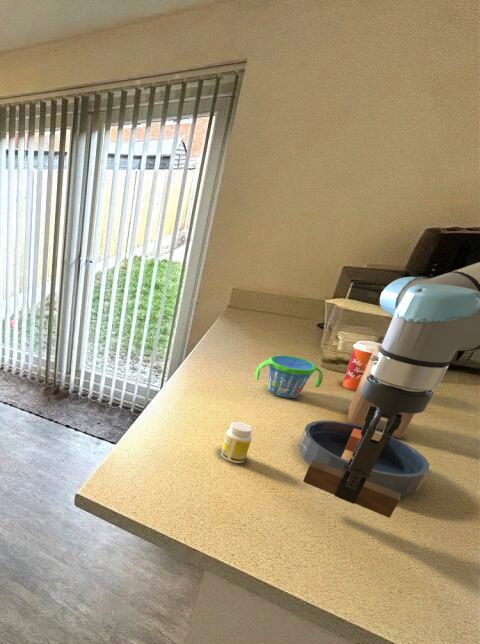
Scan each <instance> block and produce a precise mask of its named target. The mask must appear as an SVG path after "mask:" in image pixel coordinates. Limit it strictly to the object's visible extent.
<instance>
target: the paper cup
mask: <svg viewBox="0 0 480 644" xmlns="http://www.w3.org/2000/svg"><path fill="white" fill-rule="evenodd" d="M377 345H382V343H380V342H376V341H368V340H358V341H357V342H355V344H353V345H352V347H353V349H352V353H351V356H350V359H349V361H348V365H347V368H346V373H345V374H344V378H343V382H342V386H343V387H344V388H346V389H349V390H351V391H355V392H356V390H357V388H358V385H359V383H360V381H361V378H362V376H363V374H364V371H365V369H366V367H367V364H368V362H369V360H370V357H371V355H372V353H373V350H374V348H375V347H376V346H377Z"/></svg>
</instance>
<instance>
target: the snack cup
mask: <svg viewBox="0 0 480 644" xmlns="http://www.w3.org/2000/svg"><path fill="white" fill-rule="evenodd" d="M266 366H268V368H269V370H268V378H267V379H268V380H267V391H269V393H271V394H273V395H275V396H277V397H280V398H281V397H282V398H286V399H295V398H297V397H298V396H299V395H300V394H301V393H302V391H303V389H304V387H305V386H306V385H307V382H308V381H309V379H310V377H311V376H312V375H313V373H315V371H317V372H318V373H317V376H316V380H315V381H314V382H313V383H314V384H313V386H314V387H315V388H319V387H320V386H321V385H322V382H323V378H324V375H323V372H322V370H321V368H319V367H318V366H316V365H315V364H314V363H313V362H311V361H309V360H308V359H305V358H301V357H297V356H294V355H293V356H292V355H285V354H281V355H280V354H277V355H272V356H270V358H269V359H267V360H264V361H263V362H261V363H260V364H259V365H258V366H257V368H256V369H255V371H254V372H255V373H254V376H255V380H256V381H259V380H260V371H261V369H263V368H264V367H266Z"/></svg>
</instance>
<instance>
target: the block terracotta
mask: <svg viewBox="0 0 480 644" xmlns="http://www.w3.org/2000/svg"><path fill="white" fill-rule="evenodd" d="M361 431H362V430H359V429H355V428H354V429H353V431H352V433H351V436H350V438H349V440H348V442H347V445H346V447H345V450H349V451H351V452H355V446H357V445H358V442H359V440H360V438H361V436H362V435H361ZM345 450H344V451H345Z"/></svg>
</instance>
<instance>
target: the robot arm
mask: <svg viewBox="0 0 480 644" xmlns="http://www.w3.org/2000/svg"><path fill="white" fill-rule="evenodd" d="M379 306H380V308H381V309H382V311H383V312H385V313H387V314H388V315H390V316H392V319H391V321H390V323H389V326H388V329H387V331H386V333H385V336H384V338H383V340H382V343H381V344H382V345H381V347H380V351H379V353H378V356H374V355H372V356H371V357H370V360H371V361H374V362H375V363H374V364H373V366H372V368H371V371H370V373H371V374H372V375H370V376H368V377H367V378H366V381H365V383H364V385H363V387H362V390H361V392H360V394H361V396H362V398H363V399H365V400H366V401H368V402H369V403H372V404H374V406H375V407H374V406H371V405H370V407H369V409H368V411H367V415H366V417H365V422H364V425H363V428H362V431H361V435H362V436H361V438H360V440H359V442H358V445H357V446H355V452H354V453H353V454H352V455H353V459H352V458H351V459H350V461H349V463H348V464H345V463H344V465H343V468H345V469H346V470H345V474H344V476H343V478H342V480H341V482H340V484H339V486H338V489H337V491H336V493H335V495H333V496H334V497H336V498H338V499H340V500H343V501H345V502H348V503H351V504H353V505H355V501H356V499H357V497H358V495H359V493H360V491H361V489H362V487H363V485H364V483H365V481H366V479H367V478H368V477H370V473H371V471H372V469H373V467H374V465H377V463H378V461H377V459H378V457H379V455H380V453H381V451H382V449H383V447H384V446H385V444H386V443H388V442H389V441H390V439H391V437H392V435H393V432H394V431H395V430H397V429H398V427H399V425H400V423H401V421H402V420H401V418H402V415H403V414H399V413H408V414H414V415H416V414H420V413H423V412H424V411H425V410H426V408H427V407H428V405H429V403H430V401H431V399H432V397H433V396H434V392H433V390H436V389H437V388H438V387H439V385H440V384H441V381H442V379H443V378H444V376H445V374H446V371H447V370H448V368H449V366H450V364H451V362H452V359H453V358H454V356H455V355H456V352H457V351H459V352H480V261H479V262H476V263H473V264H470V265H467V266H464V267H462V268H458V269H455V270H452V271H450V272H447V273H443V274H441V275H437V276H435V277H431V278H426V277H422V276H421V277H420V276H417V277H416V276H406V277H405V276H404V277H400V278H398V279H395V280H393V281H391V282H390V283H389V284H387V286H386V287H385V288H383V290H382V291H381V294H380V297H379Z"/></svg>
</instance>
